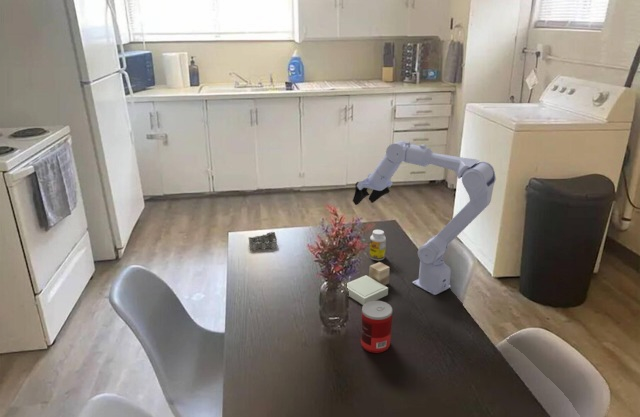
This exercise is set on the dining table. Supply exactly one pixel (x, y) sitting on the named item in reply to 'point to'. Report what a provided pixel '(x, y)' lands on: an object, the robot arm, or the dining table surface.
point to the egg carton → (258, 241)
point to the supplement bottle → (377, 245)
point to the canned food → (376, 326)
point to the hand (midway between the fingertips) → (362, 201)
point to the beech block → (379, 273)
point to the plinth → (366, 290)
